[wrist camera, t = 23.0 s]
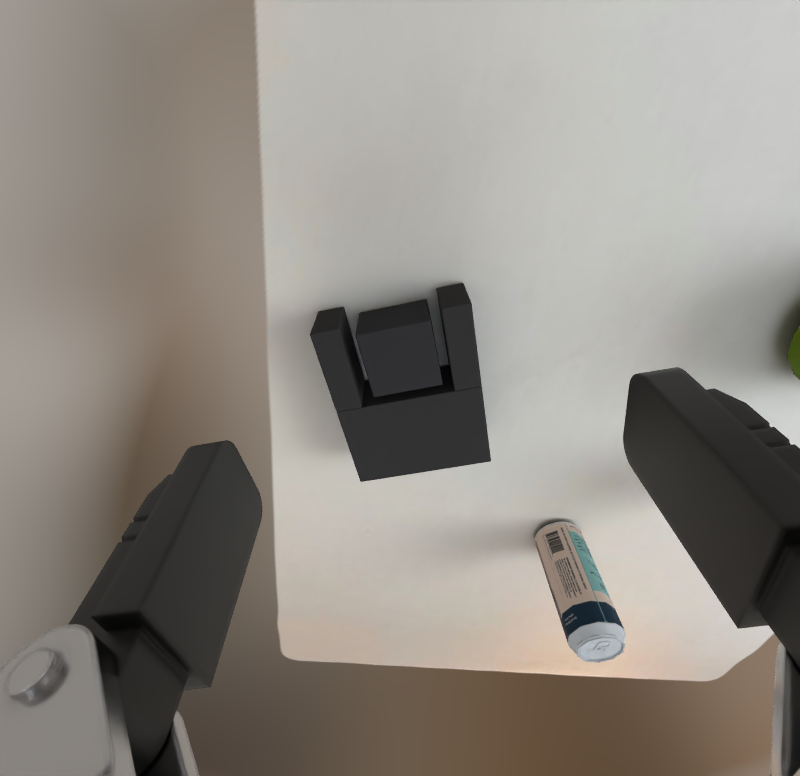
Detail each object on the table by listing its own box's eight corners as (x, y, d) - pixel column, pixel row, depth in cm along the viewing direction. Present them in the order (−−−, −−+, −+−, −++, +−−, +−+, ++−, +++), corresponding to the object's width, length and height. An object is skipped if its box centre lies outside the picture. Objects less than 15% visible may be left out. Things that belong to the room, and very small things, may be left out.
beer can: (527, 545, 48) (563, 662, 38) (541, 515, 45) (584, 632, 35) (569, 549, 48) (616, 666, 38) (585, 520, 46) (640, 637, 36)
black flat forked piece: (318, 311, 33) (309, 334, 30) (463, 282, 32) (471, 302, 29) (363, 451, 40) (360, 482, 37) (482, 431, 39) (491, 461, 36)
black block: (375, 370, 36) (373, 397, 33) (359, 312, 33) (355, 335, 30) (438, 358, 35) (442, 385, 32) (426, 298, 33) (430, 320, 29)
